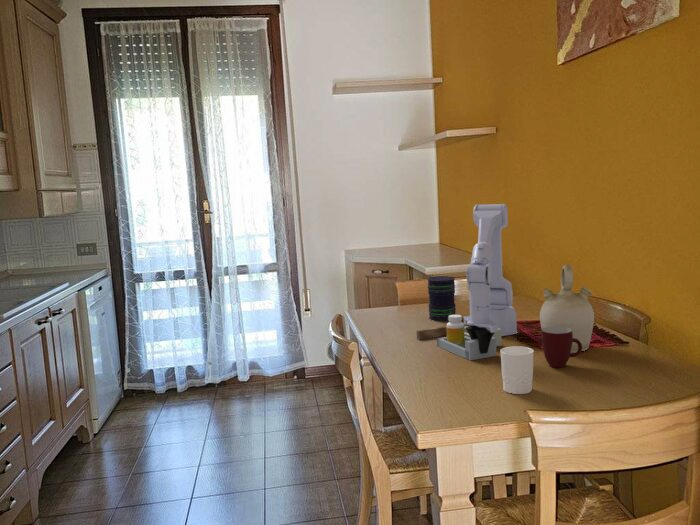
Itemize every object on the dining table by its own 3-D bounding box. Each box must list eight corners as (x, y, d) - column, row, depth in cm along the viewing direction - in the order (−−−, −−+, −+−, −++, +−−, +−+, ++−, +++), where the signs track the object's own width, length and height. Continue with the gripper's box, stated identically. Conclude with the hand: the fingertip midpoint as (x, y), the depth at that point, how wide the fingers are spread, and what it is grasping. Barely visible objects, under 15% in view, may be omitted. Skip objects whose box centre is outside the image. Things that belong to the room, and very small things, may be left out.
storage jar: (460, 316, 244) (459, 276, 242) (449, 322, 236) (448, 281, 234) (435, 314, 249) (434, 275, 247) (424, 320, 241) (422, 279, 239)
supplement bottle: (464, 349, 200) (463, 317, 199) (446, 349, 201) (445, 317, 200) (465, 344, 205) (464, 313, 204) (447, 344, 206) (446, 314, 205)
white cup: (496, 386, 165) (496, 347, 164) (527, 383, 166) (527, 345, 164) (507, 396, 157) (506, 355, 156) (539, 394, 158) (538, 353, 157)
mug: (575, 360, 183) (575, 325, 182) (586, 368, 175) (586, 332, 174) (537, 362, 183) (537, 327, 182) (547, 371, 175) (546, 334, 174)
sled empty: (468, 333, 219) (467, 317, 218) (501, 345, 202) (501, 329, 201) (451, 335, 216) (451, 320, 216) (484, 348, 199) (484, 331, 199)
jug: (596, 343, 200) (596, 261, 196) (591, 356, 186) (591, 269, 182) (544, 339, 206) (543, 260, 203) (536, 353, 192) (535, 268, 189)
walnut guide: (465, 331, 222) (465, 322, 222) (503, 345, 202) (503, 336, 202) (416, 338, 215) (416, 330, 215) (451, 354, 195) (451, 345, 195)
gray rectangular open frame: (461, 341, 208) (461, 325, 208) (496, 355, 191) (496, 338, 191) (437, 346, 205) (436, 329, 204) (470, 360, 188) (469, 342, 187)
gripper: (454, 303, 194) (455, 348, 196) (482, 311, 181) (483, 359, 182) (474, 300, 197) (475, 344, 198) (503, 308, 183) (504, 356, 185)
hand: (480, 351), depth 191 cm, fingers closed on gray rectangular open frame, 2 cm apart
